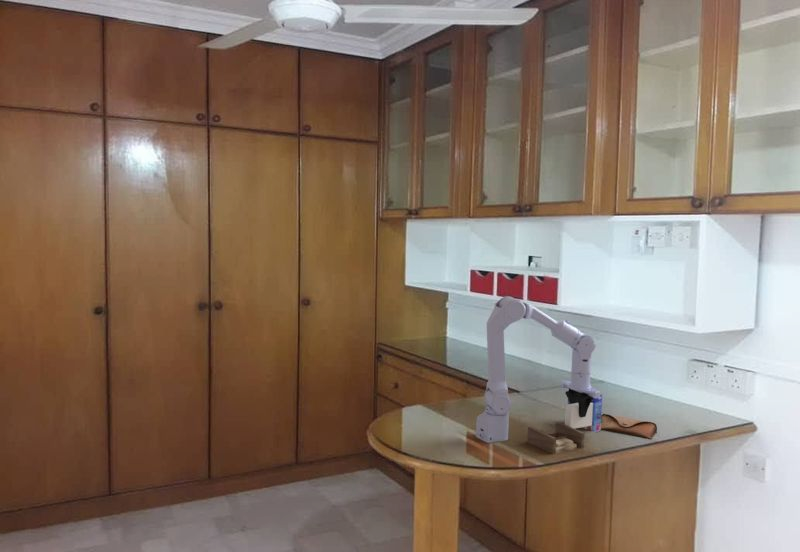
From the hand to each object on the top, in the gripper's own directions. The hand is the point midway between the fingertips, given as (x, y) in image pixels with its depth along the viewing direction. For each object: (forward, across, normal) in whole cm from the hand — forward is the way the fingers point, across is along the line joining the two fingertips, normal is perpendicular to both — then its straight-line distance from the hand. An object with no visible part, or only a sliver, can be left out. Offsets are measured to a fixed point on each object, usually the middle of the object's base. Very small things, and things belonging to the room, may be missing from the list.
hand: (578, 415), depth 197 cm
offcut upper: (+6, -6, +12) cm, 14 cm away
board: (+3, 0, 0) cm, 3 cm away
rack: (+8, -3, +12) cm, 14 cm away
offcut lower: (+6, -6, +12) cm, 15 cm away
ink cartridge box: (+8, +7, -9) cm, 14 cm away
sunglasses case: (+8, -1, -21) cm, 22 cm away
